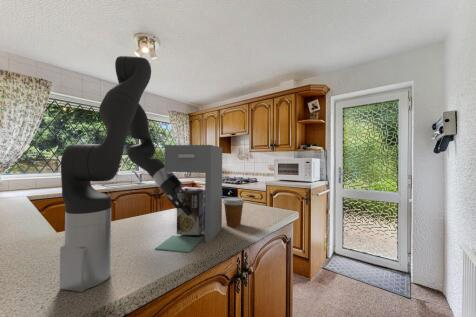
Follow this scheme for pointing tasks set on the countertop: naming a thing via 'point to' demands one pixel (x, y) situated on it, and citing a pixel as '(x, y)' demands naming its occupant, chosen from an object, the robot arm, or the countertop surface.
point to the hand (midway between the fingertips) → (194, 211)
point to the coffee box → (195, 220)
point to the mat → (179, 244)
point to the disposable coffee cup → (233, 211)
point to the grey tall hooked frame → (210, 164)
